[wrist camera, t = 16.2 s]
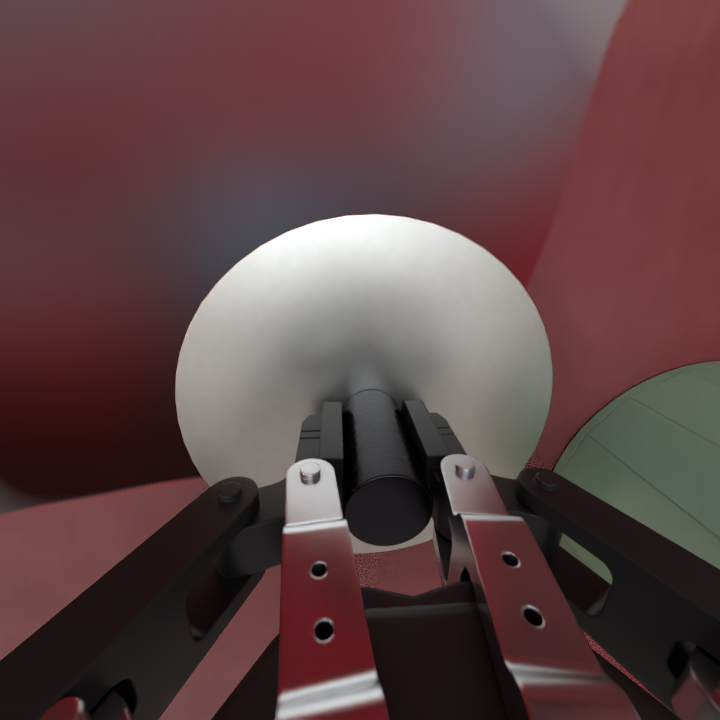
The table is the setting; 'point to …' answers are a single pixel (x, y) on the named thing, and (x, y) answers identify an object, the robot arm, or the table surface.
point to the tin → (655, 460)
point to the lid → (364, 363)
